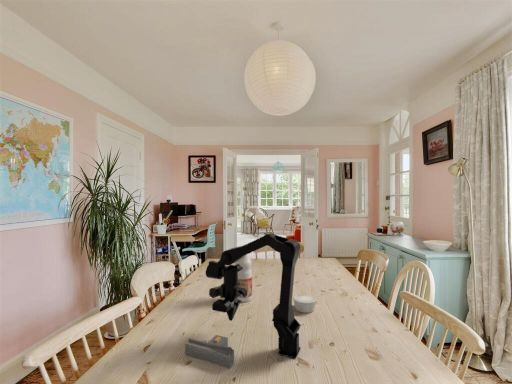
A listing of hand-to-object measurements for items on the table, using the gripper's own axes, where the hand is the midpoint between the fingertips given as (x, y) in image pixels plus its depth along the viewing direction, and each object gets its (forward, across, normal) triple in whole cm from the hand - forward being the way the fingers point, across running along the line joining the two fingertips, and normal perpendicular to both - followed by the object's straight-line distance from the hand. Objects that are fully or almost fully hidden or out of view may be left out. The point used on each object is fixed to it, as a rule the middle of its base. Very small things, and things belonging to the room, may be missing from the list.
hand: (230, 320), depth 105 cm
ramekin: (+7, -36, +21) cm, 42 cm away
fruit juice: (+6, -35, -12) cm, 38 cm away
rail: (+6, +14, 0) cm, 15 cm away
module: (+6, +11, 0) cm, 13 cm away
